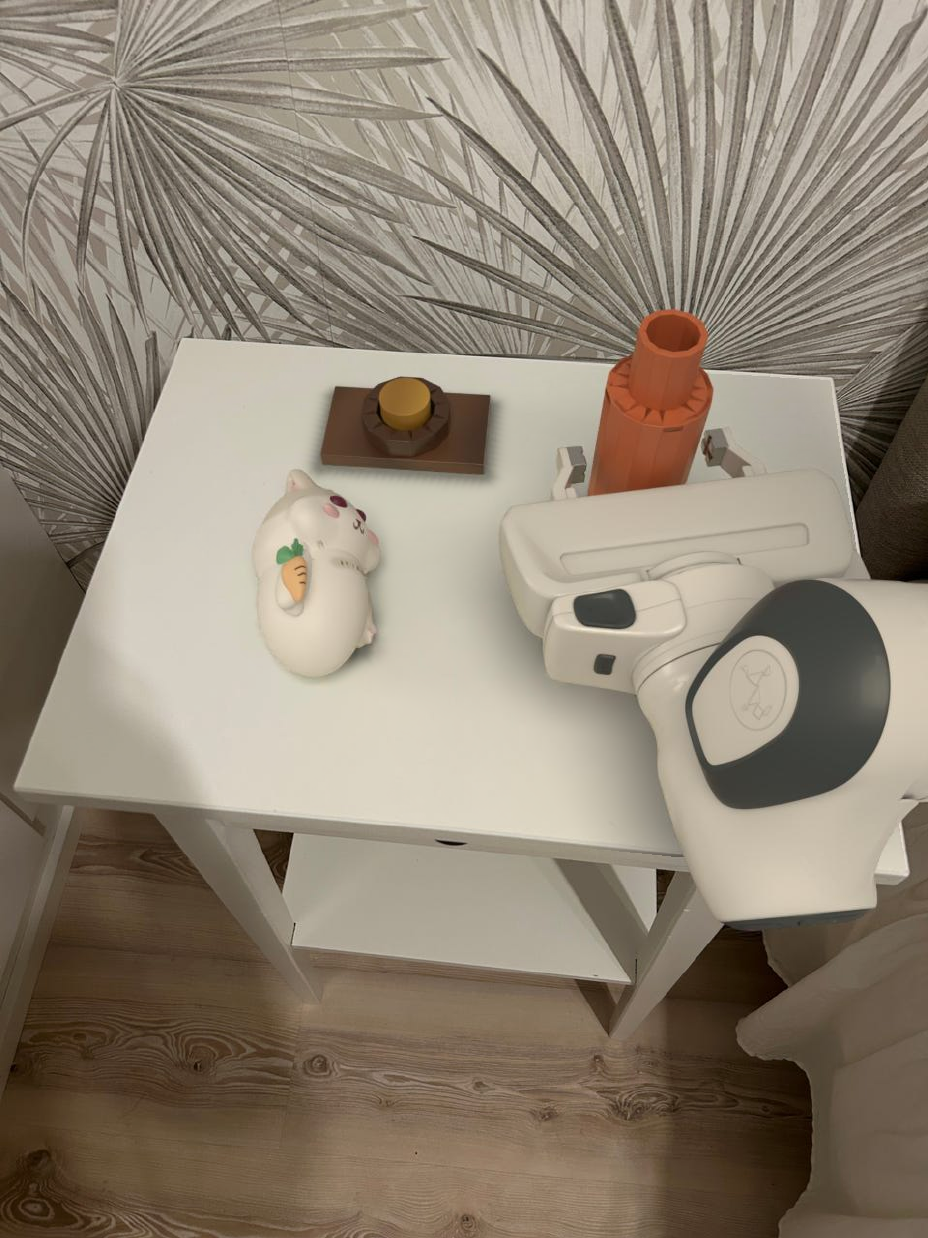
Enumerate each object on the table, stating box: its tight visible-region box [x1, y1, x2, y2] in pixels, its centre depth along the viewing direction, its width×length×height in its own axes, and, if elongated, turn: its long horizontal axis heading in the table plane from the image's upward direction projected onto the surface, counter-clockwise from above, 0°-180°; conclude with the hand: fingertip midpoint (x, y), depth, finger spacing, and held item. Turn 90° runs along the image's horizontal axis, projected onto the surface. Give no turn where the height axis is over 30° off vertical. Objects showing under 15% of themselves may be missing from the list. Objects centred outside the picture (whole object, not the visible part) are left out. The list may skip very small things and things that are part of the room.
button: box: [379, 378, 431, 431], centre depth 70 cm, size 4×4×2 cm
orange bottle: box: [586, 308, 715, 497], centre depth 57 cm, size 6×6×22 cm
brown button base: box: [319, 376, 492, 475], centre depth 72 cm, size 13×8×3 cm, turn 85°
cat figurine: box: [251, 468, 382, 678], centre depth 61 cm, size 10×8×15 cm
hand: (641, 443), depth 56 cm, fingers open, 8 cm apart
